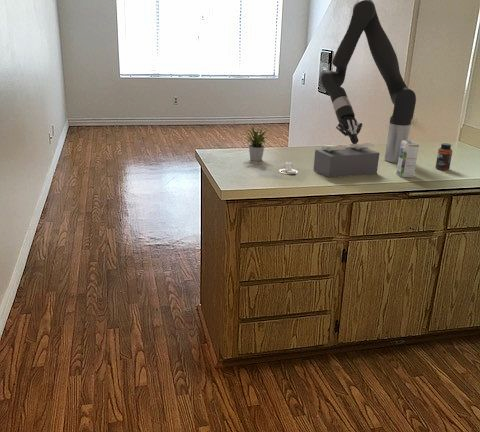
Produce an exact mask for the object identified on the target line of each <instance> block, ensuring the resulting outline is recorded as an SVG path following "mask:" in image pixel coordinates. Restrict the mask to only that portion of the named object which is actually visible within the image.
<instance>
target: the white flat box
mask: <svg viewBox="0 0 480 432" xmlns="http://www.w3.org/2000/svg"><path fill="white" fill-rule="evenodd" d="M349 147H350V148H356V149H367V148H368V149H369V148H374V147H375V143H373V142H371V143H370V142H368V143H367V142H366V143H365V142H364V143H357V144H353V143H350V144H349Z"/></svg>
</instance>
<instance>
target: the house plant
mask: <svg viewBox="0 0 480 432" xmlns="http://www.w3.org/2000/svg"><path fill="white" fill-rule="evenodd" d="M260 124H261V123H259V124H258V126H257V130H256V131H255V128H254V126H253V125H252V124H250V128H251V130H250V129H249V128H247V126H246V125H243V124H242V126H244V127H245V128H246V130H245V132H246V133H247V134H248V135H249V136H245V139H246V140H247V143H250V144H249V145H248V149H249V151H248V152H249V159H250V160H251V161H254V162H260V161H262V159H263V156H264V151H265V145H264V144H265V143H266V141H269V139H268V138H270V137H267V136H265V135H266V133H267V132H268V131H269V130H271V129H272V127H269V128H268V129H266V130H265V131H263V127H260ZM259 128H260V129H259ZM262 131H263V132H262Z"/></svg>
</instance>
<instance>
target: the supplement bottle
mask: <svg viewBox="0 0 480 432" xmlns="http://www.w3.org/2000/svg"><path fill="white" fill-rule="evenodd" d="M451 147H452V144H450V143H448V142H443V143H442V142H441V146H440V147H439V148H438V149H437V155H436V161H435V162H436V163H435V169H437V170H439V171H448V170H450V167H451V161H452V157H453V155H452V154H453V150H452V148H451Z"/></svg>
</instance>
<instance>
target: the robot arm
mask: <svg viewBox="0 0 480 432" xmlns="http://www.w3.org/2000/svg"><path fill="white" fill-rule="evenodd" d="M363 32H364V34H365V37H366V40H367V45H368V48H369V51H370V54H371V56H372V59H373V61H374V64H375V66H376V68H377V69H378V71H379V73H380V75H381V77H382V79H383V80H384V82H385V84H386V85H385V86H386V87H387V88H386V89H387V90H388V94H389V97H390V100H391V103H392V104H393V110H392V114H391V116H390V117H389V122H388V123H389V125H388V130H387V131H388V132H387V137H386V144H385V153H384V160H385V161H386V162H390V163H395V164H398V160H399V154H400V148H401V142H402V141H404V140H409V136H410V129H411V124H412V120H413V118H414V114H415V110H416V109H415V108H416V104H417V103H416V102H417V97H416V96H417V95H416V93H415V92H414V90H412V89H411V88H408V86H407V85H406V83H405V81H404V79H403V77H402V74H401V71H400V63H399V59H398V56H397V53H396V50H395V49H394V47H393V44H392V42H391V40H390V39H389V36H388V35H387V34H386V31H385V30H384V28H383V26H382V24H381V22H380V19H379V15H378V12H377V9H376V5H375V3H374V1H373V0H357V1H356V2H355V4H354V5H353V7H352V15H351V18H350V22H349V25H348V28H347V30H346V32H345V35H344V36H343V38H342V40H341V41H340V44H339V45H338V47H337V50H336V52H335V54H334V57H333V59H332V61H331V63H332V65H333V67H336V68H335V71H333V70H327V69H326V70H324V71H323V72H322V73H321V76H320V83H321V85H322V87H323V89H324V90H325V91H326V93H327V94H328V96H330V100H331V103H332V106H333V110H334V113H335V115H336V119H337V121H338V124H337V125H336V127H335V129H337V130H338V132H340V133H341V134H342V135H343V136H344V137H348V138H349V139H350V142H351V144H359V143H358V142H359V138H358V135H359V134H360V133H361V130H362V127H363V123H362V122H358V121H357V119H356V118H355V112H354V111H355V110H353V107H352V104H351V101H350V99H349V97H348V94H347V92H346V90H345V89H344V87H342V86H343V84H344V83H345V81H346V80H345V78H346V74H347V70H348V65H349V63H350V61H351V59H352V57H353V54H354V53H355V49H356V47H357V45H358V43H359V40H360V38H361V36H362V34H363Z"/></svg>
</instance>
